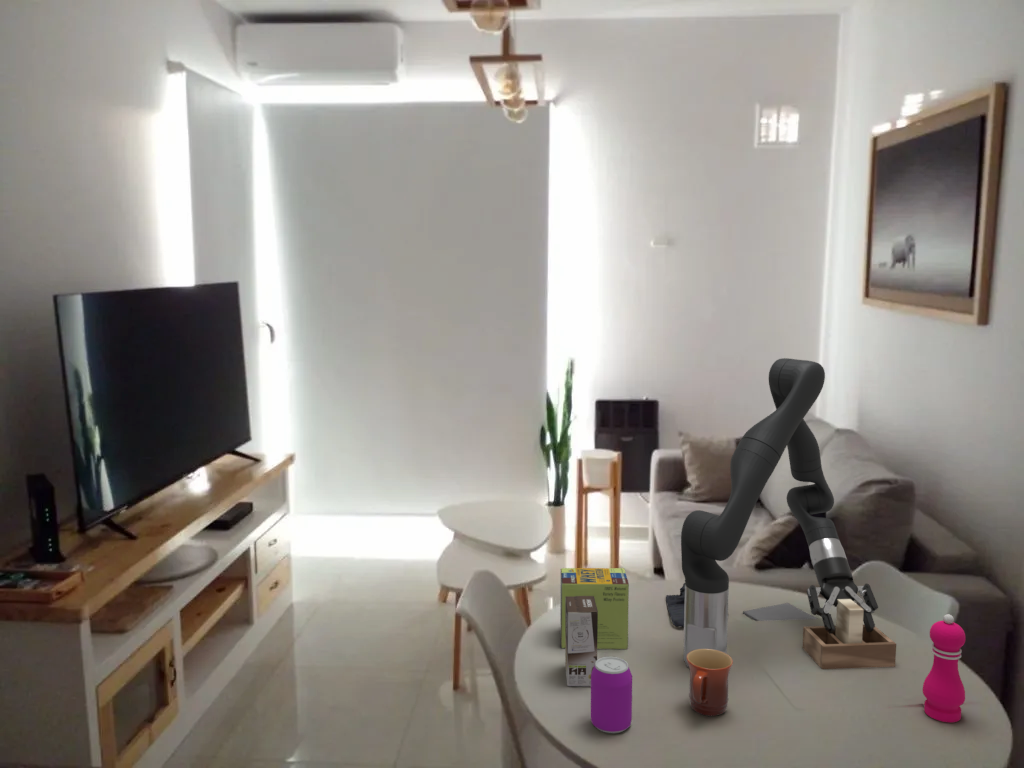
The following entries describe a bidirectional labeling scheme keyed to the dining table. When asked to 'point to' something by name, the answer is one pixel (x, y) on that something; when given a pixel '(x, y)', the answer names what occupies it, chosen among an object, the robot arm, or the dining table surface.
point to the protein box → (600, 602)
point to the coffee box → (580, 639)
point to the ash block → (849, 621)
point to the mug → (709, 681)
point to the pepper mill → (945, 672)
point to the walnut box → (849, 649)
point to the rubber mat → (778, 613)
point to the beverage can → (611, 695)
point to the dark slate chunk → (677, 607)
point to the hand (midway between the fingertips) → (851, 631)
